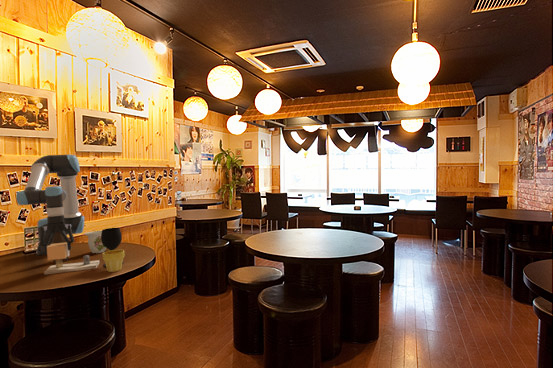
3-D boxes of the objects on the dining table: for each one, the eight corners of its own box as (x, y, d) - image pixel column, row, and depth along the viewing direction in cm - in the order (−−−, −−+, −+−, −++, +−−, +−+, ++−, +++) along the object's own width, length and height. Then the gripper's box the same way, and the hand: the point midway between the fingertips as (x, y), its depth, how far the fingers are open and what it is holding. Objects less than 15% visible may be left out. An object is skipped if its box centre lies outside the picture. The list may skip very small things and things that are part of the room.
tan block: (52, 256, 184) (51, 243, 184) (69, 254, 187) (68, 242, 186) (47, 260, 177) (46, 247, 176) (65, 258, 179) (64, 245, 179)
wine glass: (127, 262, 192) (125, 227, 191) (113, 267, 182) (110, 231, 181) (113, 261, 195) (111, 227, 194) (98, 266, 186) (96, 230, 184)
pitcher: (117, 250, 223) (116, 229, 222) (88, 256, 209) (86, 234, 209) (111, 247, 230) (109, 227, 229) (82, 253, 217) (80, 232, 216)
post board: (51, 268, 186) (50, 257, 185) (99, 262, 194) (99, 252, 193) (44, 274, 174) (43, 263, 174) (96, 268, 182) (95, 257, 182)
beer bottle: (61, 262, 197) (58, 222, 195) (50, 262, 198) (46, 222, 197) (71, 259, 204) (69, 219, 203) (61, 258, 206) (58, 219, 204)
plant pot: (119, 265, 185) (118, 248, 185) (129, 269, 179) (127, 250, 178) (100, 270, 178) (98, 252, 177) (109, 274, 171) (107, 255, 170)
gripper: (29, 217, 173) (33, 261, 175) (76, 214, 180) (79, 256, 181) (34, 215, 180) (38, 257, 182) (79, 212, 187) (82, 253, 188)
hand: (58, 257), depth 182 cm, fingers closed on tan block, 8 cm apart
